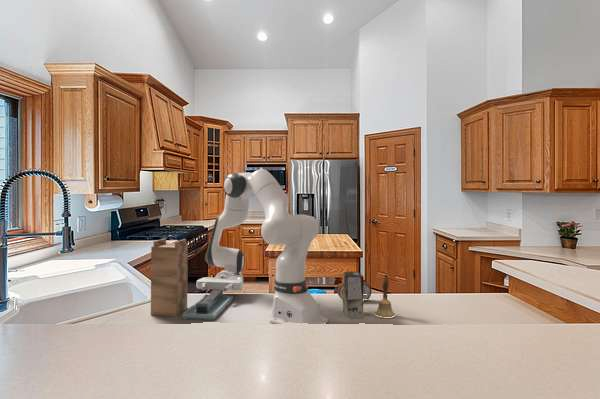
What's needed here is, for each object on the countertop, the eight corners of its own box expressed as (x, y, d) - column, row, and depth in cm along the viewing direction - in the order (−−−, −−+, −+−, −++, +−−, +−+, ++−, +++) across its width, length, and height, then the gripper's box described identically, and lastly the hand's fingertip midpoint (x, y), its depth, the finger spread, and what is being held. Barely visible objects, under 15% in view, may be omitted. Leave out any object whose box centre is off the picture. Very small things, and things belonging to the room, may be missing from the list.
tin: (370, 299, 153) (370, 281, 153) (371, 301, 150) (372, 282, 150) (337, 299, 153) (337, 280, 152) (338, 301, 150) (338, 282, 149)
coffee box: (363, 318, 129) (364, 276, 129) (347, 318, 129) (347, 276, 129) (357, 310, 139) (358, 271, 138) (342, 310, 138) (343, 271, 138)
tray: (205, 298, 150) (205, 294, 150) (232, 300, 149) (232, 295, 149) (182, 318, 126) (182, 313, 126) (213, 320, 125) (214, 315, 125)
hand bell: (369, 313, 136) (370, 273, 136) (386, 310, 139) (387, 271, 139) (382, 320, 128) (383, 278, 128) (400, 317, 132) (401, 276, 131)
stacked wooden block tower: (163, 306, 139) (164, 238, 139) (187, 307, 138) (187, 238, 138) (150, 315, 129) (151, 241, 129) (176, 316, 128) (176, 242, 128)
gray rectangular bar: (214, 295, 149) (213, 286, 149) (223, 295, 149) (223, 286, 148) (196, 313, 129) (196, 303, 129) (207, 314, 129) (207, 304, 128)
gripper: (202, 272, 157) (190, 280, 144) (246, 274, 156) (238, 282, 142) (202, 286, 158) (190, 295, 144) (245, 288, 156) (237, 297, 142)
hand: (214, 288), depth 143 cm, fingers open, 8 cm apart
